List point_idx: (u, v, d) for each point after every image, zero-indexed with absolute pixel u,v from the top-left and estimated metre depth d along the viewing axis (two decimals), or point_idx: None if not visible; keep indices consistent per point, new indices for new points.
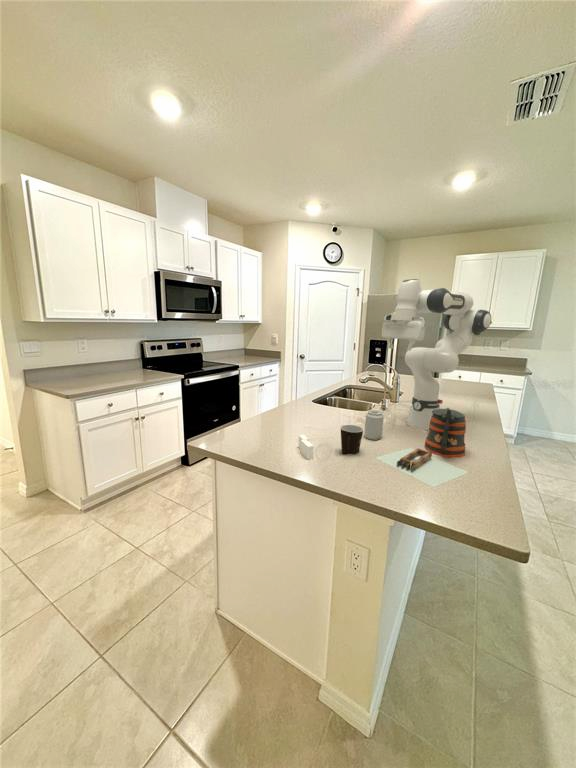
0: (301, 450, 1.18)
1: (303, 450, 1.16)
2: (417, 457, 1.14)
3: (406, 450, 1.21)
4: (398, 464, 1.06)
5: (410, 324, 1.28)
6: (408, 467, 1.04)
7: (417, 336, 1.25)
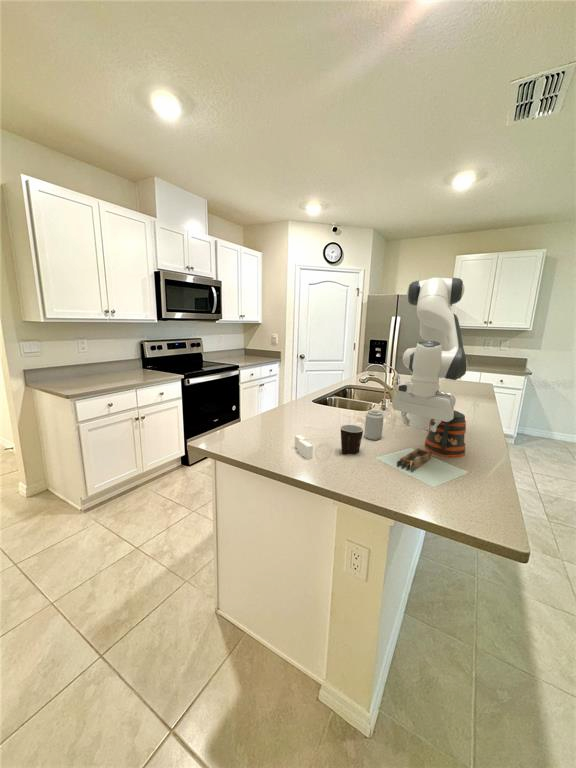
0: (299, 450, 1.18)
1: (301, 450, 1.16)
2: (417, 457, 1.14)
3: (406, 450, 1.21)
4: (398, 464, 1.06)
5: (435, 401, 1.01)
6: (408, 467, 1.04)
7: (447, 418, 0.99)
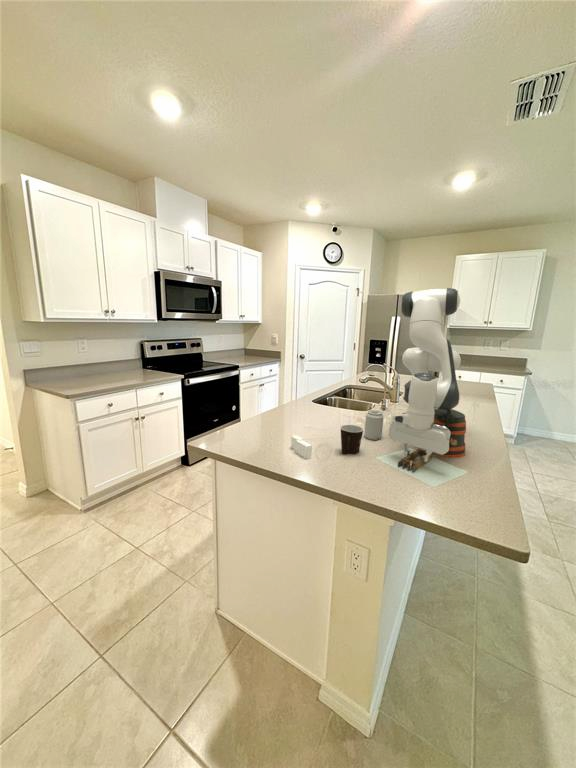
0: (297, 451, 1.17)
1: (300, 450, 1.16)
2: (418, 457, 1.13)
3: None
4: (399, 464, 1.06)
5: (430, 433, 1.02)
6: (409, 467, 1.04)
7: (442, 451, 1.00)
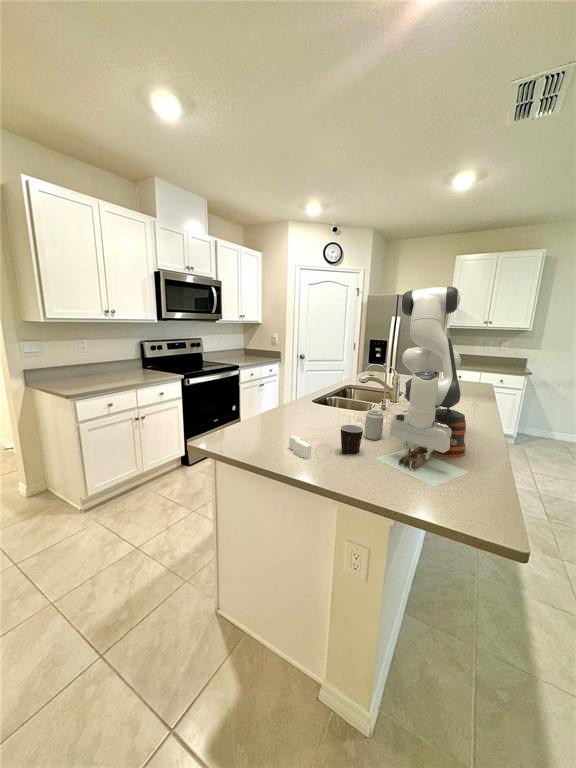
0: (296, 451, 1.17)
1: (299, 450, 1.15)
2: (419, 455, 1.14)
3: None
4: (400, 462, 1.07)
5: (431, 432, 1.03)
6: None
7: (443, 449, 1.01)
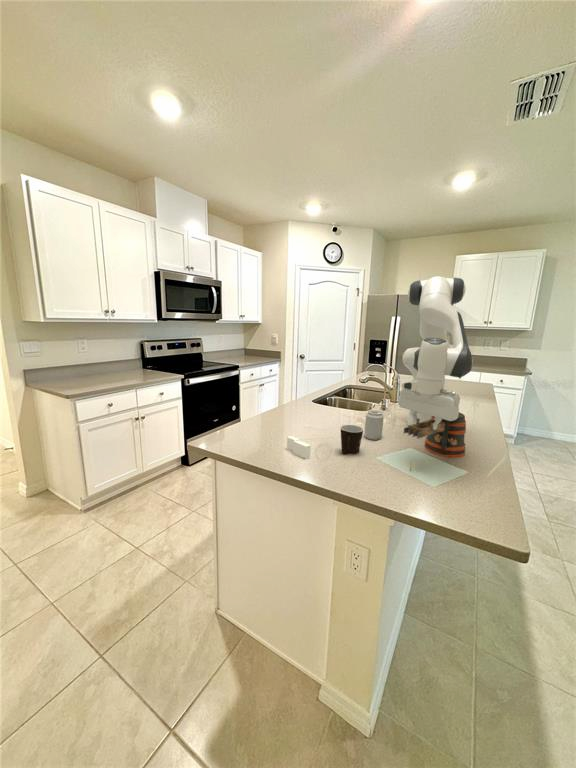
0: (294, 451, 1.17)
1: (298, 451, 1.15)
2: None
3: (406, 450, 1.21)
4: (405, 431, 1.04)
5: (438, 399, 0.99)
6: (415, 433, 1.02)
7: (450, 417, 0.96)
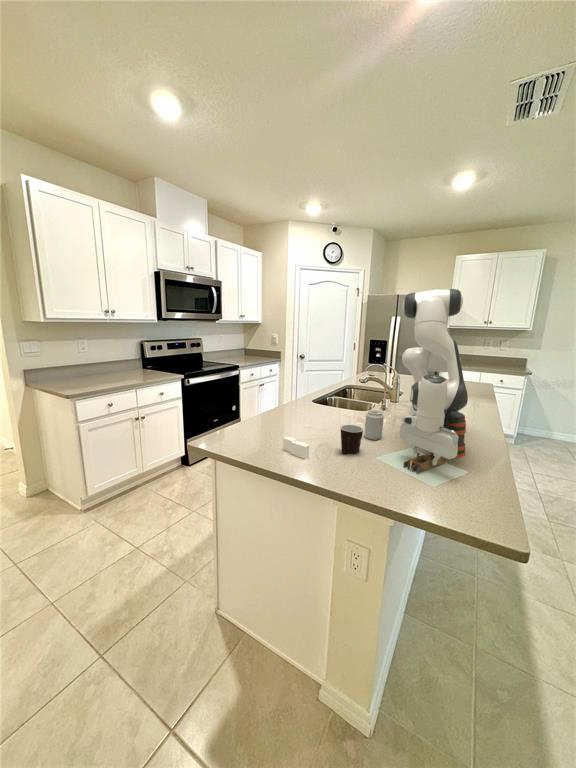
0: (292, 452, 1.16)
1: (296, 451, 1.15)
2: None
3: (406, 450, 1.21)
4: (405, 465, 1.06)
5: (438, 437, 1.00)
6: (414, 468, 1.03)
7: (448, 456, 0.97)
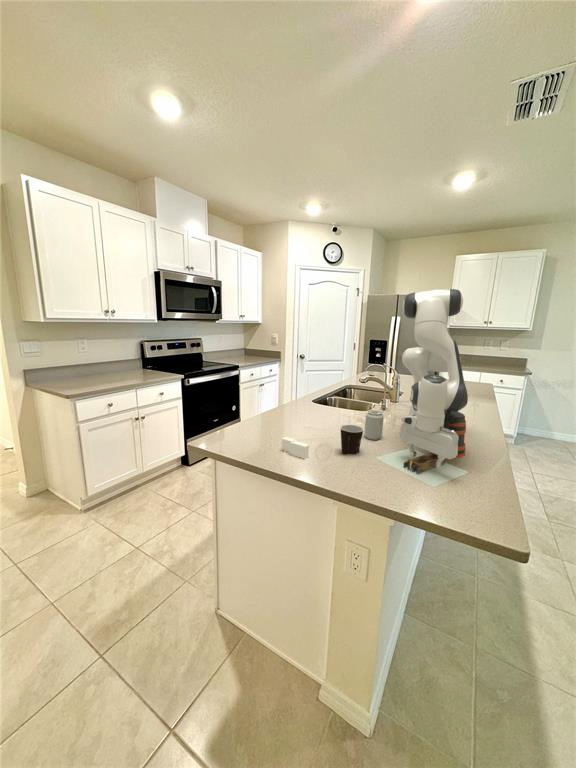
0: (292, 452, 1.16)
1: (296, 451, 1.14)
2: (430, 461, 1.11)
3: (406, 450, 1.21)
4: (405, 465, 1.06)
5: (438, 437, 1.00)
6: (414, 469, 1.03)
7: (448, 456, 0.97)
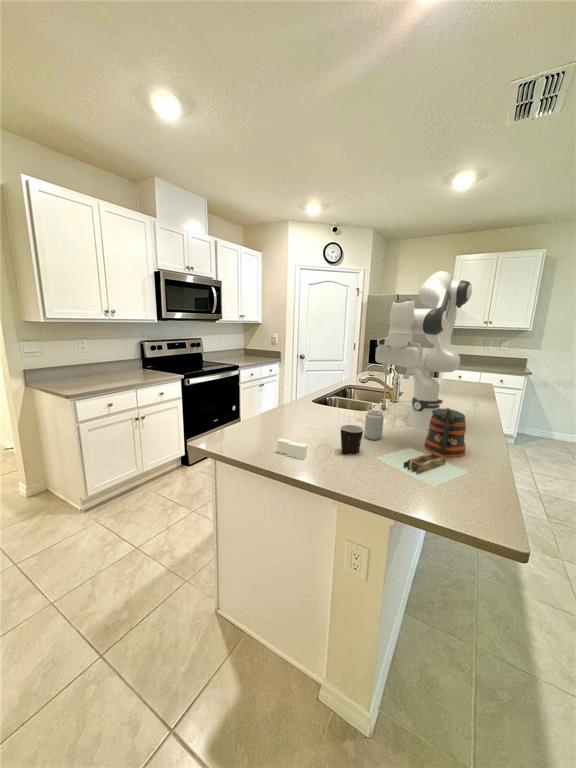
0: (290, 453, 1.14)
1: (294, 452, 1.14)
2: (430, 461, 1.11)
3: (406, 450, 1.21)
4: (405, 465, 1.06)
5: (406, 351, 1.15)
6: (414, 469, 1.03)
7: (414, 365, 1.12)
